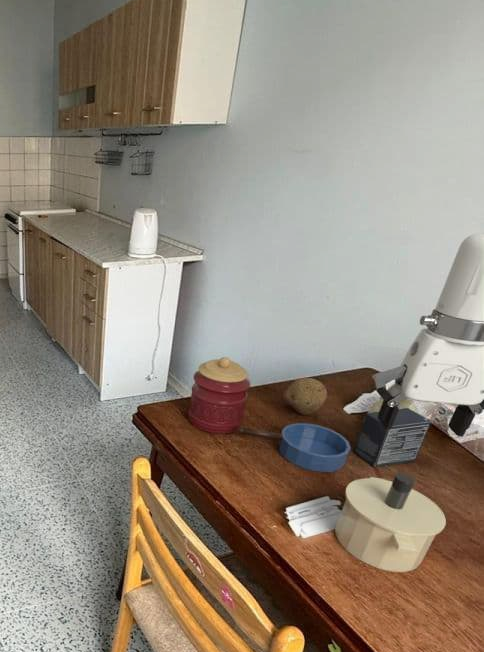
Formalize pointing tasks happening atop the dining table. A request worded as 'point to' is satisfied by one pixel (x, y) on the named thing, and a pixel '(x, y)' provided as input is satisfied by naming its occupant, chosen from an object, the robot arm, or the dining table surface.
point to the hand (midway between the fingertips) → (419, 428)
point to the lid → (395, 506)
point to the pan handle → (260, 433)
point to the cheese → (403, 404)
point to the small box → (392, 438)
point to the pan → (314, 447)
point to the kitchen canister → (218, 396)
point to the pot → (379, 543)
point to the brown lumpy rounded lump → (306, 395)
